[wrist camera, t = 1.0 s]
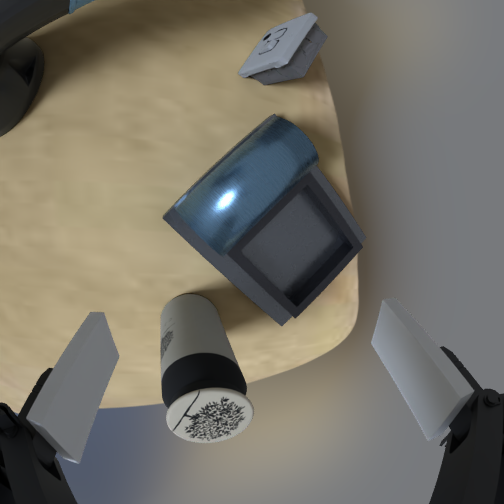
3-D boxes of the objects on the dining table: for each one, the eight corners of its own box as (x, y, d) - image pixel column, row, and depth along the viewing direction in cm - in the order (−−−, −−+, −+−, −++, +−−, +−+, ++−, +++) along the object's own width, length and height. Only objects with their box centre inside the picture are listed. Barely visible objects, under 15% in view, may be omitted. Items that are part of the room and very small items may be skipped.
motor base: (162, 215, 31) (159, 230, 23) (268, 116, 32) (300, 100, 23) (276, 319, 40) (302, 353, 32) (358, 234, 40) (398, 249, 32)
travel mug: (229, 312, 37) (275, 405, 21) (196, 351, 38) (221, 451, 21) (182, 281, 34) (198, 374, 18) (149, 325, 35) (147, 429, 18)
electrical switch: (267, 30, 28) (302, 2, 20) (297, 50, 30) (336, 29, 22) (235, 76, 29) (265, 51, 21) (268, 96, 31) (306, 80, 23)
